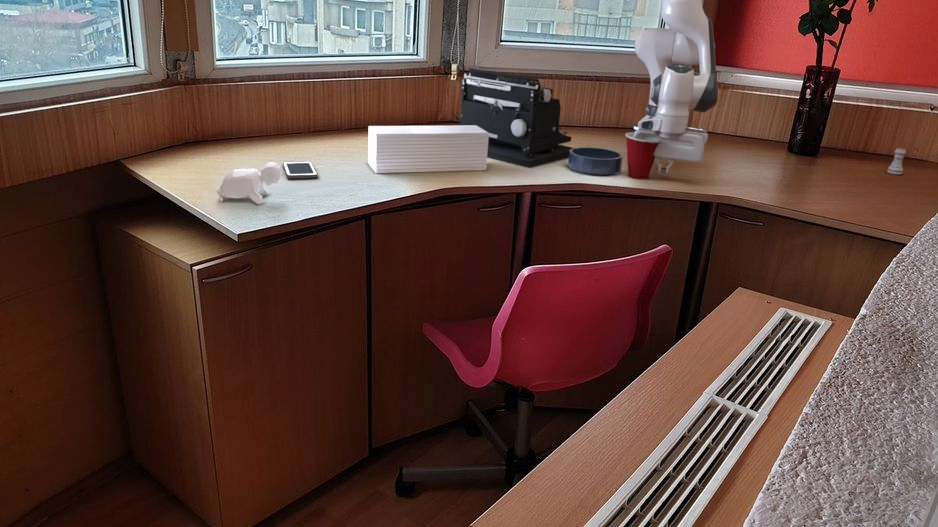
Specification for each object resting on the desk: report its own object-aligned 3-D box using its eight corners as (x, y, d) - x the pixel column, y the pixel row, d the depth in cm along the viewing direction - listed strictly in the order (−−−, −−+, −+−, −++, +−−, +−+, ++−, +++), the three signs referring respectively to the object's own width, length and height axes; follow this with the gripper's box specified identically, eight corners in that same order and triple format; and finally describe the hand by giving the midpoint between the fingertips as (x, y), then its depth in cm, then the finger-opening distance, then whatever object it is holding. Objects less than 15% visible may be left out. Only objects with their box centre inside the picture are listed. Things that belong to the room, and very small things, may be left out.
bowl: (576, 160, 223) (578, 144, 221) (625, 168, 217) (628, 152, 215) (560, 170, 209) (562, 154, 207) (613, 179, 204) (615, 162, 202)
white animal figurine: (226, 216, 164) (287, 194, 163) (209, 182, 160) (272, 160, 160) (234, 205, 171) (292, 184, 171) (218, 172, 168) (278, 151, 168)
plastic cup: (658, 182, 202) (664, 140, 198) (619, 179, 204) (624, 137, 200) (657, 174, 212) (663, 133, 208) (620, 170, 214) (625, 130, 210)
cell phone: (311, 164, 199) (311, 161, 199) (318, 178, 186) (317, 174, 186) (282, 165, 197) (282, 161, 196) (287, 179, 184) (287, 175, 183)
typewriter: (578, 155, 230) (587, 75, 221) (529, 167, 210) (537, 80, 201) (502, 138, 248) (508, 63, 239) (450, 148, 229) (454, 67, 219)
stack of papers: (474, 161, 214) (476, 125, 210) (486, 170, 205) (488, 132, 201) (368, 163, 204) (368, 126, 200) (375, 173, 195) (376, 133, 191)
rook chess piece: (900, 172, 233) (907, 148, 230) (903, 176, 229) (910, 151, 226) (885, 171, 234) (892, 146, 231) (887, 174, 230) (894, 149, 227)
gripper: (710, 127, 199) (701, 176, 204) (637, 118, 206) (630, 165, 211) (707, 131, 193) (698, 181, 198) (632, 121, 201) (625, 169, 206)
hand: (663, 173), depth 205 cm, fingers closed
